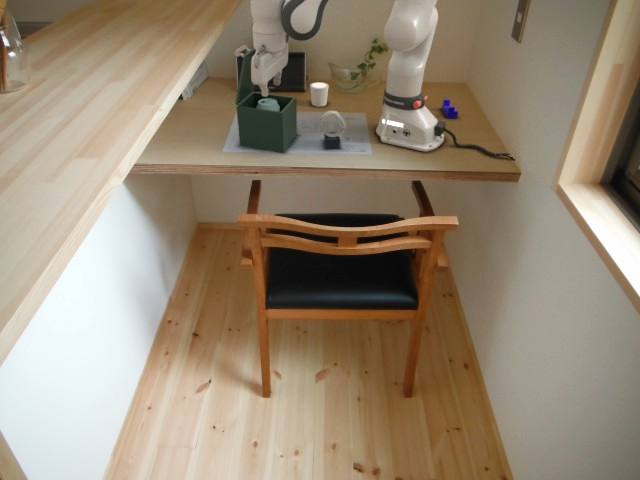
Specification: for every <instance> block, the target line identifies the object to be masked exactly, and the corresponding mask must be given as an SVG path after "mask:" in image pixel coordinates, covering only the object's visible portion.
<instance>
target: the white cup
mask: <svg viewBox="0 0 640 480" xmlns="http://www.w3.org/2000/svg"><path fill="white" fill-rule="evenodd" d="M329 86H330V85H329V84H328V83H327V82H322V81H318V82H317V81H316V82H312V83H310V85H309V88H310V99H311V105H312V106H313V107H317V108H318V107H319V108H321V107H325V106H327V103H328V94H329Z"/></svg>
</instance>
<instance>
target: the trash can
mask: <svg viewBox="0 0 640 480" xmlns="http://www.w3.org/2000/svg"><path fill="white" fill-rule="evenodd" d="M266 98H271V99H275V100H276V101H277V103H278V105H279V107H280V112H279V111H272V110H265V109H258V108H256V107H257V105H258V101H259V100H261V99H266ZM297 102H298V101H297V97H295V96H290V95H289V96H287V95H283V94H282V95H281V94H273V93H269V95H268V96H267V97H264V96H262V92H259V91H253V92H252V93H251V94H249V95H248V96H247V97H246V98H245V99H244V100H243V101H242V102H241V103H239V104H238V105H235V106H236V107H235V108H236V117H237V127H238V137H239V146H242V147H246V148H247V147H248V148H253V149H259V150H266V151H271V152H277V153H285V152H286V151H287V149H288V148H289V146H290V145H291V144H292V143H293V141H294V140H295V139H296V137H297V135H298V112H297V111H298V110H297V109H298V107H297V105H298V104H297Z"/></svg>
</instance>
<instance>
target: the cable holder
mask: <svg viewBox="0 0 640 480" xmlns="http://www.w3.org/2000/svg"><path fill="white" fill-rule="evenodd" d="M441 111H442V112H443V114H444V115H445V117H446V119H458V114H459V111H458V109H456V108H455V106H454V105H451V99H450V98H443V100H442V106H441Z"/></svg>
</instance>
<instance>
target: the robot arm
mask: <svg viewBox="0 0 640 480" xmlns="http://www.w3.org/2000/svg"><path fill="white" fill-rule="evenodd" d="M328 2H329V0H250V14H251V17H252V45H253V48H254V49H255V50H256V51H255V55H254V56H253V57H252V61H251V80H252V83H253V84H254V85H255V86H258V87H259V89H260V91H261V92H260V93H262V96H264V97H267V96H268V95H269V94H270V89H269V88H268V83H269V81H271V80H272V79H273V80H272V81H273V85H274V86H280V85H281V81H282V80H281V79H282V74H283V69H284V68H285V67H286V66H287V65H288V63H289V62H288V61H289V42H290V39H292V40H295V41H299V42H300V41H301V42H304V41H308V40H311V39H312V38H314V37H315V36H316V35H317V33H318V32H319V30H320V29H321V25H322V21H323V15H324V11H325V9H326V7H327V4H328ZM437 2H438V0H395V1H394V4H393V7H392V10H391V11H390V12H391V13H390V15H389V18H388V20H387V22H386V24H385V26H384V30H383V39H384V41H385V44H386V45H387V47H388V48H390V49H391V50H392V54H391V58H390V59H389V62H388V64H387V65H388V66H387V73H386V74H387V75H386V82H385V83H386V84H385V88H384V89H383V95H382V97H383V98H382V110H381V114H380V119H379V121H378V124H377V127H376V129H375V132H376V134H377V136H379V137H380V141H381V142H382V143H385V144H389V145H393V146H398V147H403V148H405V149H411V150H414V151H420V152H424V153H425V152H431V151H433V150H434V151H435V149H437V148H438V147H440V146H441V145H442V144H443V143H444V141H445V134H443V133H444V132H445V133H447V134H449V135H450V137H452V141H453V145H454V146H456V147H457V148H462V149H464V148H465V149H468V148H471V149H478V150H479V151H481V152H483V153H485V154H486V155H488V156H491V157H506V158H507V157H508V158H510V160H512V161H515V160H514V159H513V157H510V156H508V155H510V154H511V153H508V152H492V151H490V150H488V149H486V148H484V147H482V146H481V145H477V144H472V143H470V144H469V143H468V144H460V143H458V142H457V136H456V135H455V134H454V133H453V132H452V131H451V130H449V129H448V128H447V127H446V124H447V122H446V121H443V120H438V119H437V118H436V116H435V115H434V114H433V113H432V112H431V111H430V110H429V109H428V107H426V106H425V103H426V101H427V100H428V95H426V96H424V95H423V92H422V87H423V81H424V76H425V70H426V65H427V62H428V58H429V56H430V55H429V54H430V52H431V48H432V45H433V39H434V35H435V33H436V28H437V25H438V22H439V13H438V9H437V7H436V4H437ZM495 154H496V155H495ZM500 155H502V156H500Z"/></svg>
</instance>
